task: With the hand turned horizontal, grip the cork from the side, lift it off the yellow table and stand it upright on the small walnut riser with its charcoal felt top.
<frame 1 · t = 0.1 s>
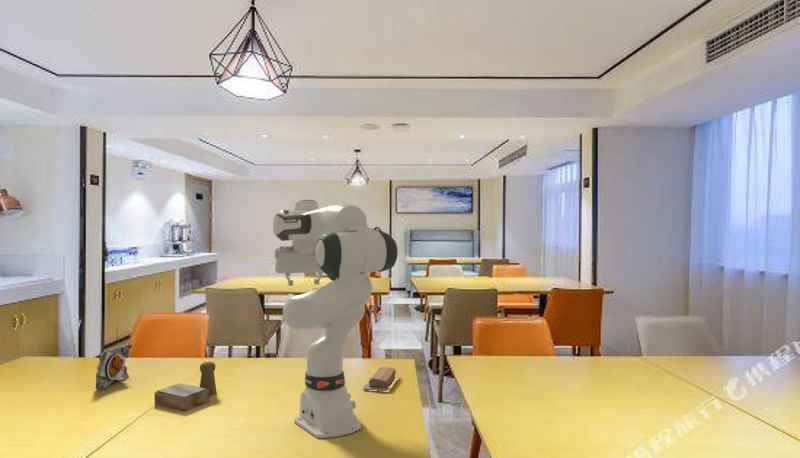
hand: (303, 284, 176), 39 cm above the table, tool pointing down, fingers open, 8 cm apart
walnut riser: (181, 403, 168), on the table
cork: (207, 393, 178), on the table
grey mechanical part: (114, 384, 188), on the table
packaged product: (382, 386, 189), on the table
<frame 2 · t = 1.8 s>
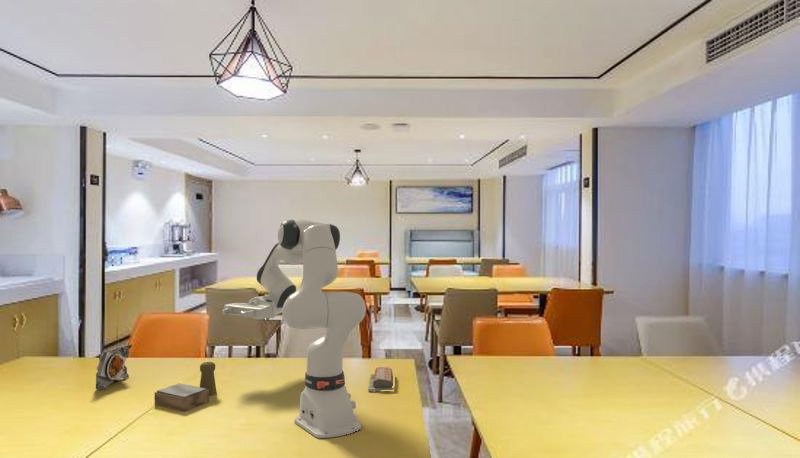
hand: (233, 313, 189), 26 cm above the table, tool horizontal, fingers open, 8 cm apart
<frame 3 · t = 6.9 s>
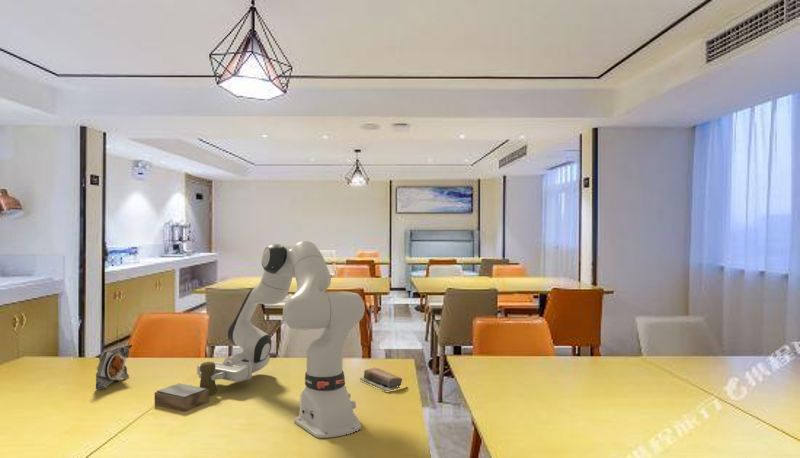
hand: (205, 377, 177), 6 cm above the table, tool horizontal, fingers closed on cork, 4 cm apart
cork: (207, 393, 178), on the table, touching gripper
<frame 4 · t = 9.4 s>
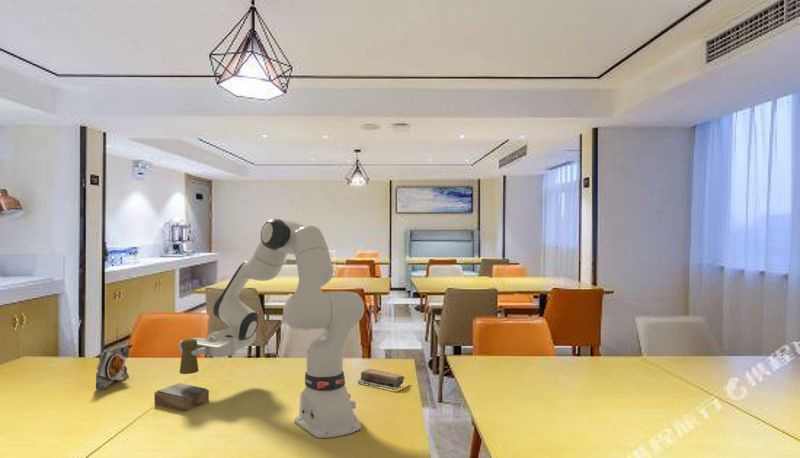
hand: (186, 352, 170), 17 cm above the table, tool horizontal, fingers closed on cork, 4 cm apart
cork: (189, 372, 171), point 10 cm above the table, touching gripper
when the fingers open (12 cm above the table, at t = 11.2 s): cork moves 2 cm, resting on walnut riser.
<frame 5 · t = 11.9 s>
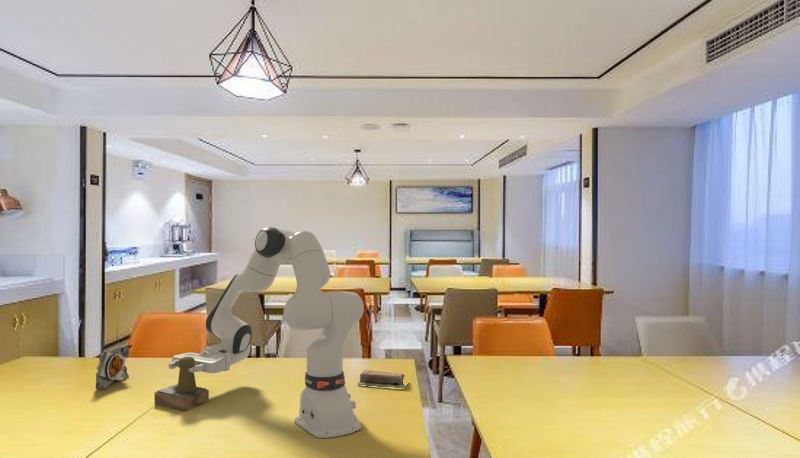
hand: (179, 368, 167), 12 cm above the table, tool horizontal, fingers open, 8 cm apart
cork: (186, 390, 167), point 4 cm above the table, touching gripper, walnut riser
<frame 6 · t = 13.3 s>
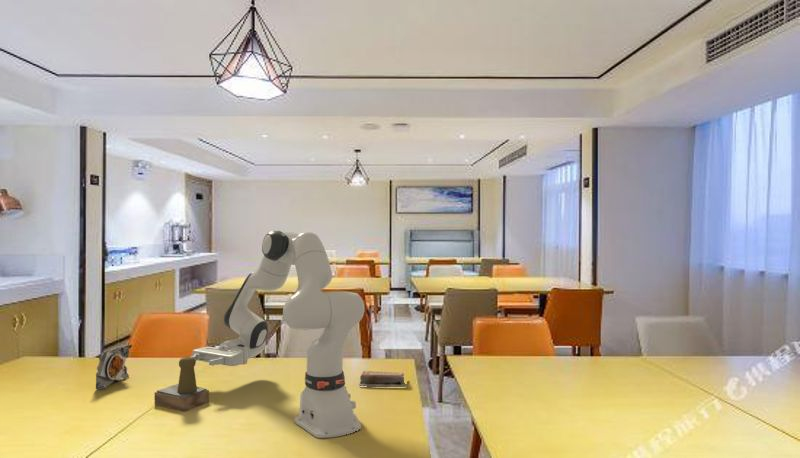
hand: (200, 361, 175), 12 cm above the table, tool horizontal, fingers open, 8 cm apart
cork: (187, 391, 167), point 4 cm above the table, touching walnut riser
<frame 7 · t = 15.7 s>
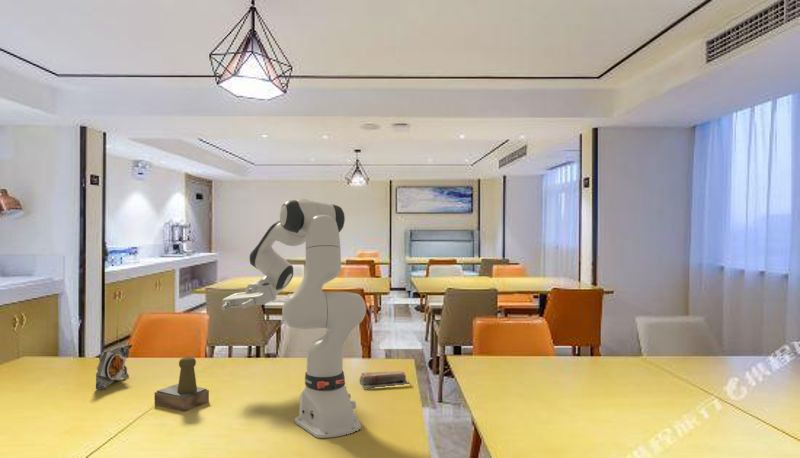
hand: (232, 307, 182), 30 cm above the table, tool tilted 75°, fingers open, 8 cm apart
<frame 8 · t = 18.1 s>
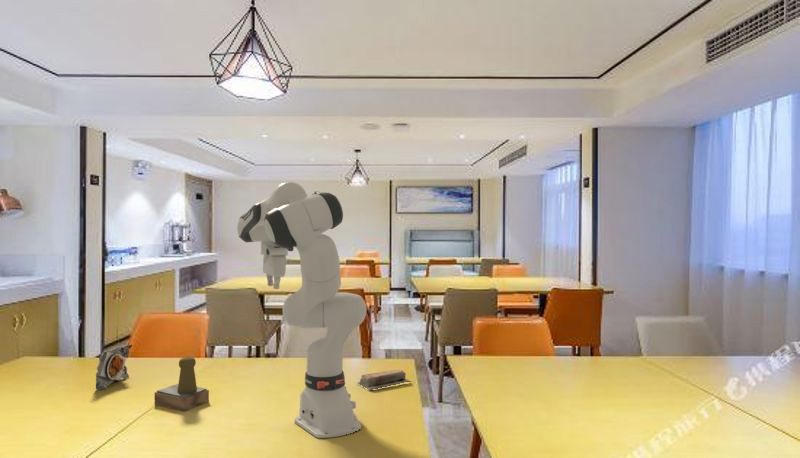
hand: (273, 287, 183), 37 cm above the table, tool pointing down, fingers open, 8 cm apart
at the end: cork inside the target area on the walnut riser (2.3 cm from its centre), point 4.3 cm above the walnut riser's base; cork tilted 0°; the gripper is holding nothing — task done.
